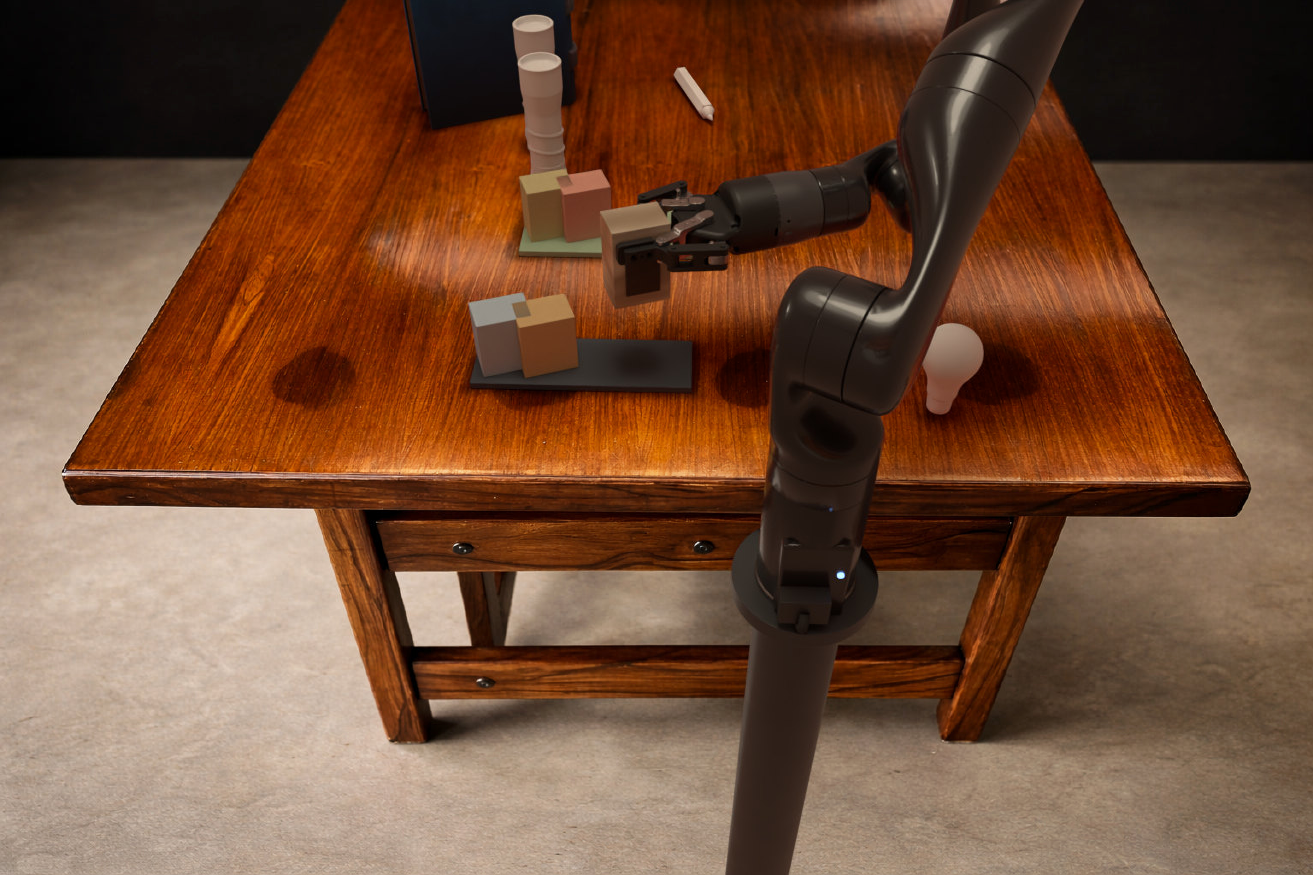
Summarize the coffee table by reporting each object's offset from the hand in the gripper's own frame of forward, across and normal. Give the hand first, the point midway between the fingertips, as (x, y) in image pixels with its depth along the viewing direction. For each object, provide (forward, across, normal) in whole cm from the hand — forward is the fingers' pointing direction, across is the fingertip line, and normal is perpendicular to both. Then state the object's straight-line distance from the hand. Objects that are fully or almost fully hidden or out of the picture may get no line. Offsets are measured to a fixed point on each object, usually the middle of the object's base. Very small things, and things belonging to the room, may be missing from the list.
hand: (610, 240), depth 101 cm
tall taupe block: (-3, 0, +7) cm, 7 cm away
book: (-1, -66, +17) cm, 68 cm away
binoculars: (-3, -45, +17) cm, 48 cm away
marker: (-30, -57, +17) cm, 66 cm away
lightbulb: (-31, +17, +17) cm, 39 cm away
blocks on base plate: (+3, -2, +17) cm, 17 cm away
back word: (-8, -26, +17) cm, 32 cm away
